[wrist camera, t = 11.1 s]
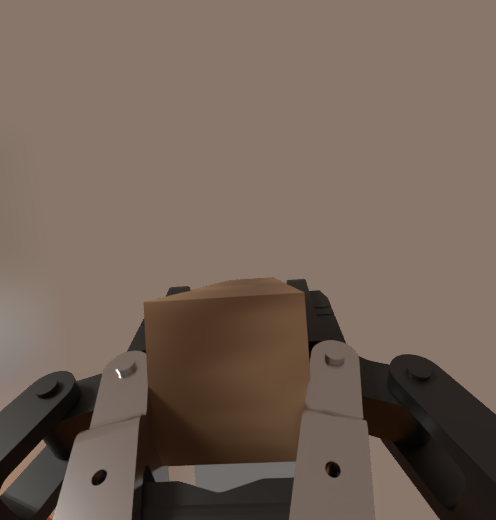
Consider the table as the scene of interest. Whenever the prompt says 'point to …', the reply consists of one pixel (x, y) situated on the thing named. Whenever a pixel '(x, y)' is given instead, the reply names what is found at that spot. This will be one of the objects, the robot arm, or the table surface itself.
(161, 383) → the walnut bar
